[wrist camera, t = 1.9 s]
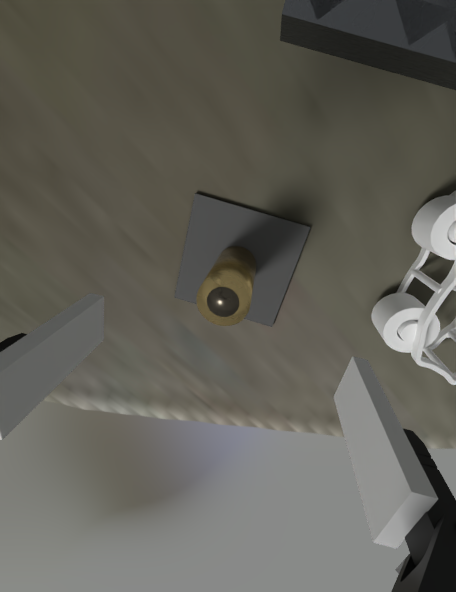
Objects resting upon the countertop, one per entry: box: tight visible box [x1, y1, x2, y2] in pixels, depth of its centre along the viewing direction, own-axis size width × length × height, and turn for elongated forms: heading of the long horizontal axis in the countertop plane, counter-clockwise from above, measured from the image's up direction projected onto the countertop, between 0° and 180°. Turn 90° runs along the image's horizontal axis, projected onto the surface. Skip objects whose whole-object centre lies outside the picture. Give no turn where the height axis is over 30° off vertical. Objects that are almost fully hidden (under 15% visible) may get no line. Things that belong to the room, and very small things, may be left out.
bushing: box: [196, 246, 256, 326], centre depth 31 cm, size 5×5×11 cm
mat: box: [175, 193, 311, 327], centre depth 36 cm, size 14×14×1 cm
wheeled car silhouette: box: [371, 191, 456, 385], centre depth 30 cm, size 20×11×7 cm, turn 170°
